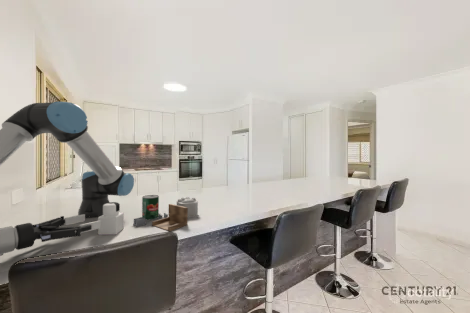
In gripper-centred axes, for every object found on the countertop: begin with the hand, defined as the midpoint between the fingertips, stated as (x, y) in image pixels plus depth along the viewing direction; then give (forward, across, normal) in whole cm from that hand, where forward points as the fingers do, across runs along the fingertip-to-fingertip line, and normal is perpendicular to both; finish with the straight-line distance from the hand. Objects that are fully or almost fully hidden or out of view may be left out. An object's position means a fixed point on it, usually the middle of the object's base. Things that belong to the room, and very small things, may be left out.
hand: (92, 220), depth 84 cm
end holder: (+26, +13, -6) cm, 30 cm away
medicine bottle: (+7, 0, -7) cm, 10 cm away
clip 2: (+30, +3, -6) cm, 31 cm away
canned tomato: (+28, -4, -7) cm, 29 cm away
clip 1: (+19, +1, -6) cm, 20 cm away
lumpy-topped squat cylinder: (+44, +5, -7) cm, 45 cm away
